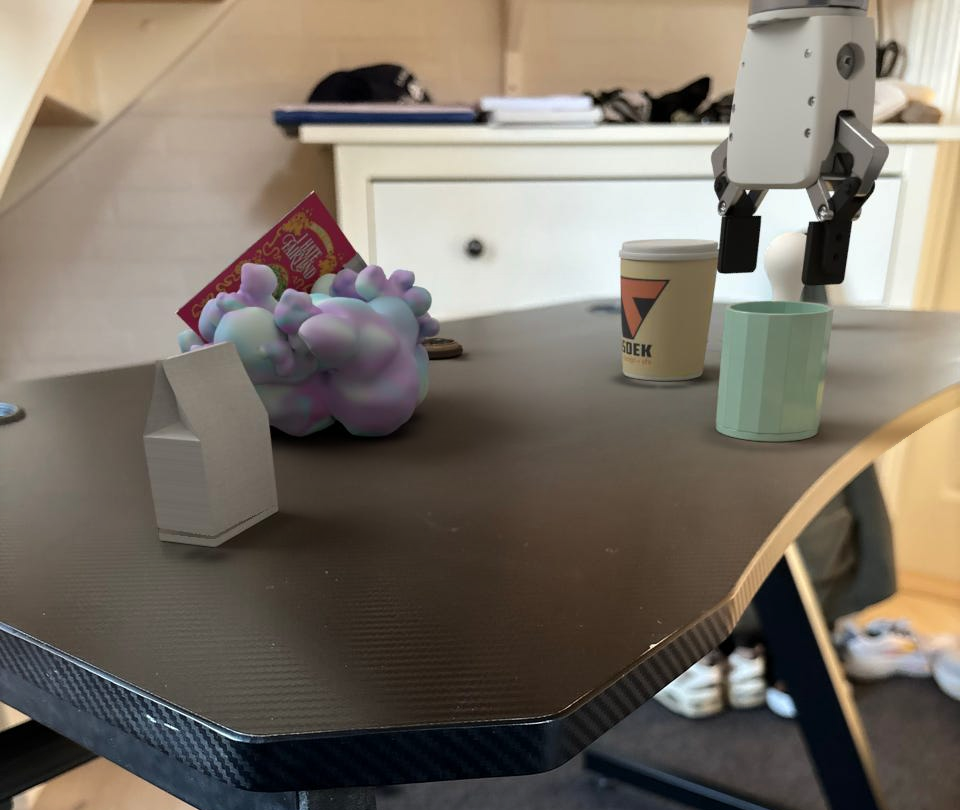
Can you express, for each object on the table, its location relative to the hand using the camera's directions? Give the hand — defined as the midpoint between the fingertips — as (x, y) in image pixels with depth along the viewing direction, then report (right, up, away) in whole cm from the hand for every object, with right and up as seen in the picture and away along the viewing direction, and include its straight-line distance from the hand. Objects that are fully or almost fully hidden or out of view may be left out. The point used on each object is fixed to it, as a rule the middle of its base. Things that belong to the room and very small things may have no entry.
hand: (776, 278), depth 73 cm
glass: (+1, -10, +5) cm, 11 cm away
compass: (-27, +6, +39) cm, 48 cm away
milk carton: (-37, -20, -13) cm, 44 cm away
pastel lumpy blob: (-35, -9, +9) cm, 37 cm away
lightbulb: (+16, +12, +51) cm, 55 cm away
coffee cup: (-4, 0, +26) cm, 26 cm away
